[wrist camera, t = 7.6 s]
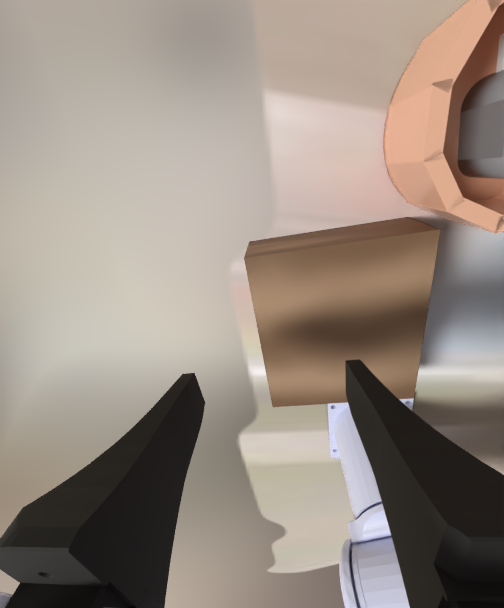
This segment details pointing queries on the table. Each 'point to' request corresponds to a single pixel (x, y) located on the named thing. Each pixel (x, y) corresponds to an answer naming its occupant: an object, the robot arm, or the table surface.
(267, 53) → the table surface
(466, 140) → the connector
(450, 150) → the bowl
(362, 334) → the board
